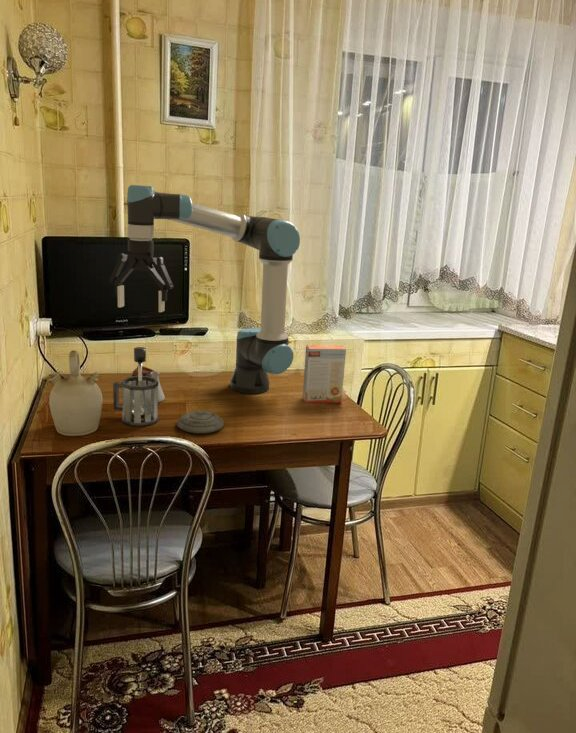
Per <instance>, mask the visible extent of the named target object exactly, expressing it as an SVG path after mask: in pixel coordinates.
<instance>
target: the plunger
mask: <svg viewBox="0 0 576 733" xmlns="http://www.w3.org/2000/svg"><path fill="white" fill-rule="evenodd" d="M133 361H134V362H135V363H137V366H138V386H142V366H143V363H145V362H146V361H147V349H146V347H144V346H136V347H134V348H133ZM151 413H152V406H151ZM132 415H134V405H132ZM143 415H144V404H142V391H141V416H143Z"/></svg>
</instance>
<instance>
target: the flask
mask: <svg viewBox="0 0 576 733" xmlns="http://www.w3.org/2000/svg"><path fill="white" fill-rule="evenodd" d="M150 375H151V377H153V378H156V379H157V381H158V403H161V402H163V401H165V400H166V396H165V394H164V392H163V389H162V385H161V383H160V378H159V377H160V376H159V375H160V372H159V371H155V372H151V373H150Z"/></svg>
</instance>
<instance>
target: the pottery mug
mask: <svg viewBox="0 0 576 733" xmlns="http://www.w3.org/2000/svg"><path fill="white" fill-rule="evenodd" d="M151 372H156V370H154V369H152V368H149V367H146V366H143V365H142V376H149V377H151V375H150V373H151ZM132 376H138V365H137V366H136V368H135V369H134V370H133V371H132V374H131V377H132ZM146 385H148V381H147V380H146ZM136 386H138V380H136Z"/></svg>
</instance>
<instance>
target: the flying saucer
mask: <svg viewBox="0 0 576 733" xmlns="http://www.w3.org/2000/svg"><path fill="white" fill-rule="evenodd" d="M224 425H225V423H224V421H223V419H222V417H220V416H219V415H217V414H216V413H214V412H211V411H208V410H207V411H206V410H194V411H190V412H187V413H185V414H183V415H182V416H181V417H180V418H178V419H177V421H176V426H177V427H178V428H179V429H180V430H182V431H185V432H187V433H192V434H209V433H214V432H218V431H219V430H221V429H223V427H224Z"/></svg>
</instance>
